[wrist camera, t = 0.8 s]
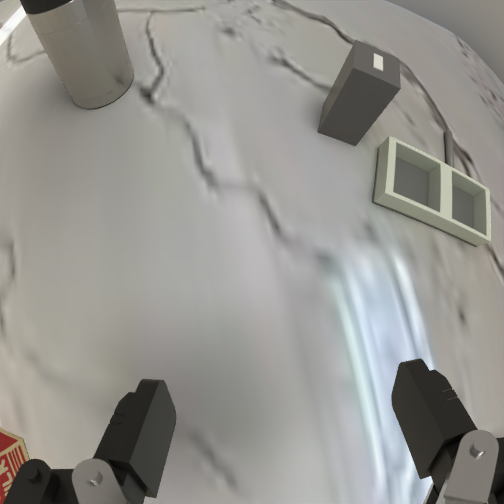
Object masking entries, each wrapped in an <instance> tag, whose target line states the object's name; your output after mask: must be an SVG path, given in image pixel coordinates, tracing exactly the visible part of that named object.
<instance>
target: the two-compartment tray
mask: <svg viewBox="0 0 504 504" xmlns="http://www.w3.org/2000/svg"><path fill="white" fill-rule="evenodd" d="M445 144H446V163H447V164H445V163H443V162H442V161H440V160H438V159H436V158H434V157H432V156H430V155H428V154H426V153H424V152H422V151H420V150H418V149H416V148H414V147H412V146H410V145H408V144H406V143H404V142H402V141H400V140H397V139H395V138H393V137H391V136H389V137H388V138H387V139H386V140H385V141H384V142H383V143H382V144H381V146H380V147H379V148H378V156H377V166H376V176H375V185H374V193H373V201H372V203H375V204H377V205H380V206H382V207H385V208H388V209H390V210H393V211H395V212H398V213H400V214H403V215H405V216H408V217H410V218H412V219H415V220H417V221H420V222H422V223H424V224H427V225H429V226H431V227H434V228H436V229H438V230H440V231H443V232H445V233H447V234H449V235H452V236H454V237H456V238H458V239H460V240H463V241H465V242H467V243H469V244H471V245H473V246H475V247H476V246H480V245H483V244H486V243H489V242H491V211H490V191H489V189H488V188H486V187H485V186H483V185H481V184H480V183H478V182H477V181H475V180H473V179H472V178H470V177H468V176H467V175H465V174H463V173H461V172H460V171H458V170H456V169H454V155H453V142H452V133H451V131H450V130H446V131H445Z"/></svg>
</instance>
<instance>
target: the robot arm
mask: <svg viewBox="0 0 504 504" xmlns="http://www.w3.org/2000/svg"><path fill="white" fill-rule="evenodd" d="M20 1H21V4H22V6H23V8H24V10H25V12H26V14H27V16H28V18H29V20H30V22H31V24H32V26H33V28H34V30H35V32H36V34H37V36H38V38H39V40H40V42H41V44H42V46H43V47H44V49H45V51H46V53H47V55H48V57H49V59H50V61H51V62H52V64H53V66H54V68H55V70H56V71H57V73H58V75H59V77H60V79H61V80H62V82H63V84H64V86H65V87H66V89H67V91H68V93H69V94H70V96H71V98H72V99H73V101H74V103H75V104H76V105H77V106H79V107H82V108H87V109H92V108H98V107H102V106H104V105H107V104H109V103H111V102H113V101H115V100H116V99H117V98H119V97H120V96H121V95H122V94H123V93H124V92H125V91H126V90H127V89H128V88H129V86H130V84H131V82H132V80H133V69H132V66H131V62H130V59H129V55H128V51H127V48H126V44H125V40H124V37H123V33H122V29H121V25H120V22H119V18H118V14H117V10H116V6H115V2H114V0H20ZM392 407H393V410H394V412H395V415H396V417H397V420H398V422H399V425H400V427H401V430H402V432H403V435H404V437H405V440H406V442H407V445H408V448H409V450H410V453H411V456H412V458H413V461H414V464H415V466H416V469H417V472H418V475H419V477H420V479H423V478H426V477H429V476H431V477H432V480H433V483H432V484H431V486H430V489H429V491H428V494H427V496H426V498H425V501H424V503H423V504H487V501H488V504H504V437H503V438H495V437H494V436H493V435H492V434H491V433H489V432H487V431H484V430H478V429H477V428H476V426H475V424H474V423H473V421H472V419H471V418H470V416H469V414H468V413H467V411H466V409H465V408H464V406H463V404H462V403H461V401H460V399H459V398H457V395H456V393H455V391H454V390H452V387H451V385H450V383H449V382H448V380H447V379H446V377H444V376H443V375H442V374H440V373H439V372H438V371H436V370H431V371H430V370H429V369H428V367H427V366H426V364H425V362H424V361H423V360H422V359H415V360H410V361H406V362H401V363H400V364H399V367H398V371H397V375H396V379H395V383H394V387H393V391H392ZM175 425H176V411H175V407H174V405H173V402H172V399H171V397H170V394H169V391H168V389H167V386H166V383H165V382H164V381H163V380H151V379H142V380H141V381H140V383H139V385H138V387H137V390H136V392H135V393H132V392H129V393H128V394H127V395H126V396H125V397H124V398H123V399H121V400H120V401H119V403H118V405H117V407H116V410H115V412H114V415H113V416H112V418H111V420H110V424H108V427H107V429H106V431H105V433H104V435H103V437H102V440H101V442H100V444H99V446H98V448H97V451H96V453H95V455H94V457H93V458H92V459H87V460H84V461H82V462H81V463H79V464H78V465H77V466H76V467H75V469H51V468H50V467H49V466H48V465H47V464H46V463H45V462H44V461H42V460H39V459H31V460H28V461H26V462H25V463H23V464H22V465H21V466H20V468H19V470H18V472H17V474H16V476H15V478H14V480H13V482H12V484H11V487H10V489H9V491H8V493H7V495H6V498H5V500H4V502H3V504H143V502H144V498H145V496H147V497H153V498H156V497H157V493H158V489H159V485H160V481H161V477H162V474H163V470H164V466H165V462H166V458H167V455H168V451H169V447H170V443H171V440H172V436H173V432H174V429H175Z"/></svg>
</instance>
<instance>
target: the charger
mask: <svg viewBox="0 0 504 504" xmlns="http://www.w3.org/2000/svg"><path fill="white" fill-rule="evenodd" d="M400 89H401V86H400V66H399V59H398V58H396V57H394V56H392V55H390V54H387V53H385V52H383V51H381V50H379V49H376V48H374V47H372V46H369V45H367V44H365V43H362V42H360V41H357V40H356V41H355V43H354V45H353V47H352V49H351V51H350V53H349V55H348V57H347V59H346V61H345V63H344V65H343V67H342V69H341V71H340V73H339V75H338V77H337V79H336V81H335V83H334V85H333V87H332V89H331V91H330V93H329V95H328V97H327V98H326V100H325V102H324V105H323V110H322V115H321V120H320V125H319V130H318V133H321V134H324V135H327V136H330V137H332V138H335V139H338V140H341V141H343V142H346V143H349V144H351V145H354V146H356V145H357V143H358V142H359V141H360V140H361V138H362V137H363V136H364V135H365V133H366V132H367V131H368V129H369V128H370V127H371V126H372V124H373V123H374V122H375V121H376V119H377V118H378V117H379V116H380V114H381V113H382V112H383V110H384V109H385V108H386V107H387V105H388V104H389V103H390V101H391V100H392V99H393V98H394V96H395V95H396V94H397V93H398V91H399V90H400Z"/></svg>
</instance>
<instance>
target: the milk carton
mask: <svg viewBox="0 0 504 504" xmlns="http://www.w3.org/2000/svg"><path fill="white" fill-rule="evenodd" d="M28 460H30V459H29V457H28V454H27V451H26V448H25V445H24V442H23V439H21V438H19V437H17V436H14V435H12V434H10V433H7V432H5V431H4V430H3V429H1V428H0V504H3V502H4V500H5V498H6V495H7V493H8V491H9V489H10V487H11V484H12V482H13V480H14V478H15V476H16V474H17V472H18V470H19V468H20V466H21V465H22V464H23V463H25V462H26V461H28Z"/></svg>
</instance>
